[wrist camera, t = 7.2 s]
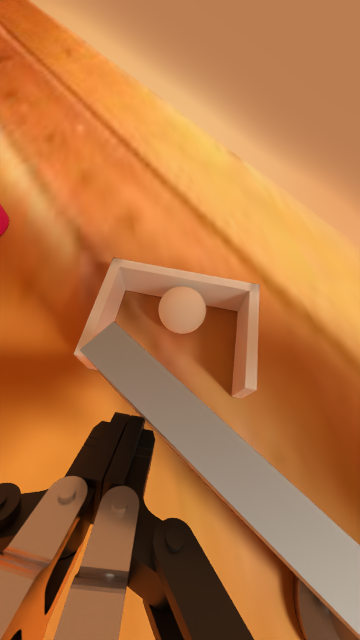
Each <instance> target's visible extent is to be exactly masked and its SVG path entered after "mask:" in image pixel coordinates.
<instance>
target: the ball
mask: <svg viewBox="0 0 360 640" xmlns="http://www.w3.org/2000/svg"><path fill="white" fill-rule="evenodd" d="M158 311H159V317H160V320H161V322H162V323H163V325H164V326H165V327H166V328H167V329H168V330H170V331H172V332H174V333H178V334H186V333H190V332H193V331H194V330H196V329H197V328H198V327H199V326H200V325H201V324H202V322H203V321H204V318H205V315H206V305H205V302H204V300H203V298H202V296H201V295H200V294H199V293H198V292H197V291H196V290H194V289H192V288H190V287H185V286H179V287H175V288H172V289H170V290H169V291H167V292H166V293H165V294H164V296H163V297H162V299H161V300H160V303H159V309H158Z"/></svg>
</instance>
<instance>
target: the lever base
mask: <svg viewBox="0 0 360 640" xmlns="http://www.w3.org/2000/svg"><path fill="white" fill-rule="evenodd" d="M293 597H294V606H295V612H296V616H297V620H298V623H299V626H300V629H301V632H302V634H303V636H304V638H305V640H340V638H339V637H338V635H337V633H336V631H335V628H334V625H333V622H332V618H331V612H330V610H329V609H328V608H327V606H326V605H325V604H324V603H323V602H322V601H321V600H320V599H319V598H318V597H317V596H316V595H315V594H314V593H313V592H312V591H311V590H310V589H309V588H308V587H307V586H306V585H305V584H304V583H303V582H302V581H301V580H300V579H299V578H298V577H297V576H296V575H295V574H294V582H293Z"/></svg>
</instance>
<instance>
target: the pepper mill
mask: <svg viewBox="0 0 360 640" xmlns="http://www.w3.org/2000/svg"><path fill="white" fill-rule="evenodd" d="M8 223H9V218H8V215H7V213H6V212H5V211H4V209H3V208H2V206H1V205H0V236H1V235H2V234H3V233H4V232H5V230H6V229H7V227H8Z"/></svg>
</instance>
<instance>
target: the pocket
mask: <svg viewBox="0 0 360 640" xmlns="http://www.w3.org/2000/svg"><path fill="white" fill-rule="evenodd" d="M179 286H185V287H190V288H192V289H194V290H196V291H197V292H198V293H199V294H200V295H201V296H202V298H203V300H204V302H205V305H206V306H212V307H217V308H222V309H228V310H233V311H238V316H237V329H236V343H235V356H234V369H233V383H232V396H231V397H236V398H241V399H242V398H243V397H245V396H247V395H249V394H251V393H252V392H254V391H256V390H257V365H258V327H259V289H260V285H259V284H253V283H248V282H243V281H237V280H232V279H226V278H221V277H216V276H210V275H205V274H199V273H194V272H189V271H183V270H178V269H172V268H167V267H162V266H156V265H151V264H145V263H140V262H135V261H129V260H124V259H118V258H113V259H112V262H111V264H110V267H109V269H108V272H107V274H106V276H105V279H104V281H103V284H102V286H101V289H100V291H99V294H98V296H97V298H96V301H95V303H94V306H93V308H92V311H91V313H90V315H89V318H88V320H87V323H86V325H85V328H84V330H83V333H82V335H81V337H80V340H79V342H78V345H77V347H76V350H75V352H74V355H75V356H76V357H77V358H78V359H79V360H80V361H81V362H82V363H83V364H84V365H85V366H86V367H87V368H88V369H93V370H97V369H96V368H95V367H94V365H93V364H92V363H91V362H90V361H89V360H88V359H87V358H86V357H85V355H84V354H83V353H82V352H81V351H80V349H81V348H82V347H84V346H85V345H86V344H87V343H88V342H89V341H91V340H92V339H93V338H94V337H95V336H97V335H98V334H99V333H100V332H101V331H103V330H104V329H105V328H106V327H107V326H109V325H110V324H111V323H112V322H113V321H115V319H116V316H117V313H118V310H119V307H120V304H121V302H122V299H123V296H124V293H125V290H127V291H132V292H137V293H143V294H148V295H153V296H159V297H163V296H164V294H165V293H166V292H167V291H169V290H170V289H172V288H175V287H179Z"/></svg>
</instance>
